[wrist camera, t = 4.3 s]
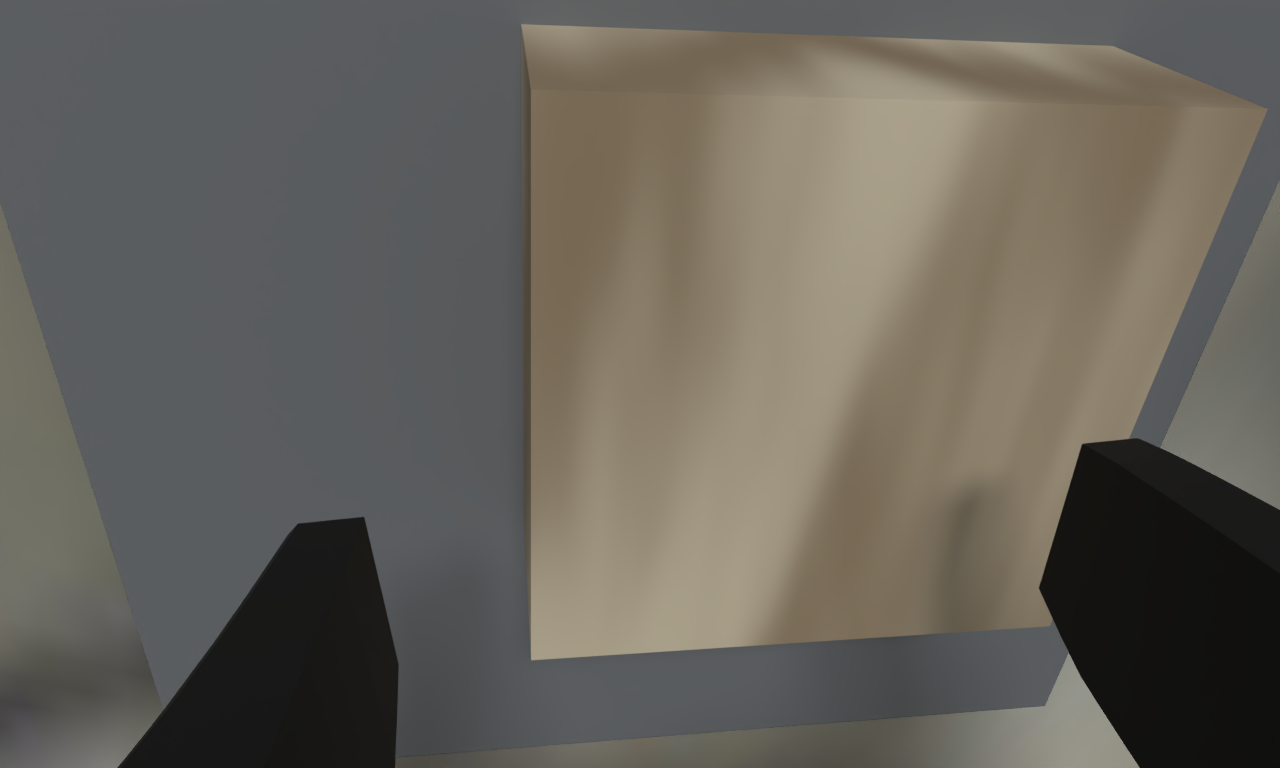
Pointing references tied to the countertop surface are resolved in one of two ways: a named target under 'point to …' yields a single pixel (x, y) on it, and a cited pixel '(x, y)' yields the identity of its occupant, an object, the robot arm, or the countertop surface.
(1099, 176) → the tan flat block
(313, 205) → the mat
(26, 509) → the countertop surface
